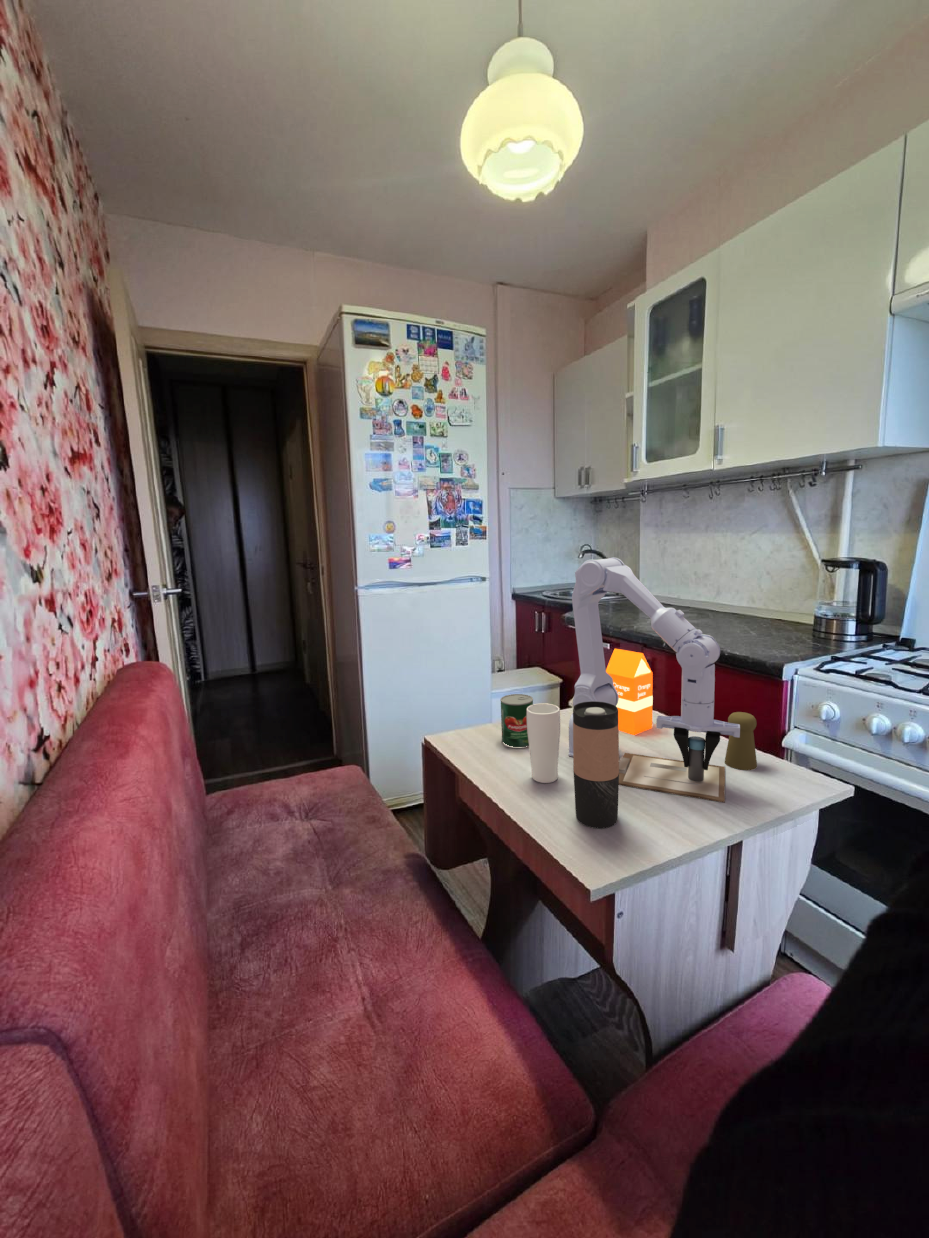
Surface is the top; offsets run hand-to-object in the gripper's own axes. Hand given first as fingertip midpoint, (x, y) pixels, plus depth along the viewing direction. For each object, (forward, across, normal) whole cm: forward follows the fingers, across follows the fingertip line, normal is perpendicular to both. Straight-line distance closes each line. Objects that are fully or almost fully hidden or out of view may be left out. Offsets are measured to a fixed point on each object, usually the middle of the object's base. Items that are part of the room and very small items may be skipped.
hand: (696, 766), depth 99 cm
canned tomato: (+4, -40, +7) cm, 41 cm away
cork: (+4, +8, +12) cm, 15 cm away
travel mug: (+4, -15, -20) cm, 25 cm away
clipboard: (+3, -5, +2) cm, 6 cm away
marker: (+2, 0, 0) cm, 2 cm away
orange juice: (+4, -17, +26) cm, 32 cm away
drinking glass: (+4, -28, -9) cm, 29 cm away
